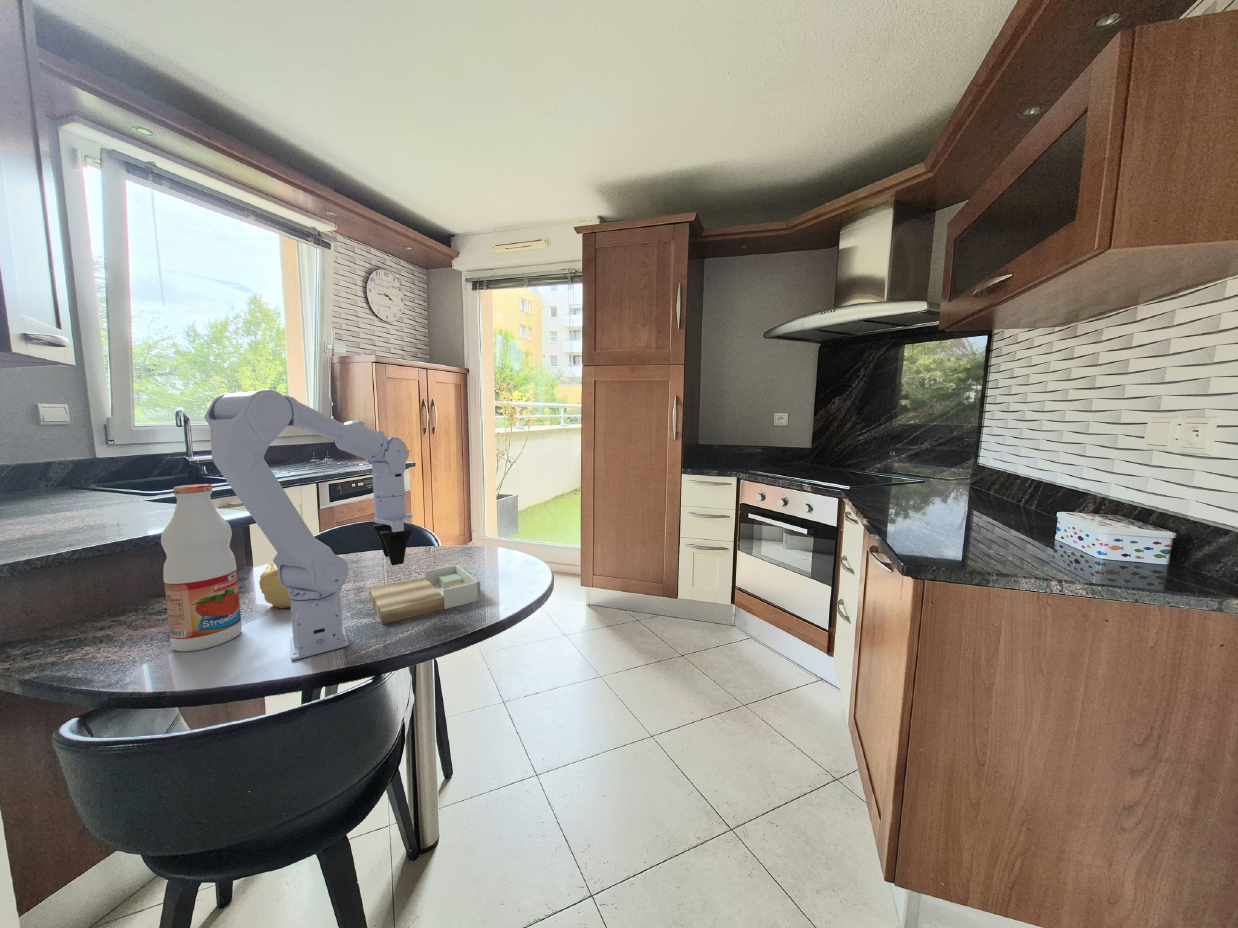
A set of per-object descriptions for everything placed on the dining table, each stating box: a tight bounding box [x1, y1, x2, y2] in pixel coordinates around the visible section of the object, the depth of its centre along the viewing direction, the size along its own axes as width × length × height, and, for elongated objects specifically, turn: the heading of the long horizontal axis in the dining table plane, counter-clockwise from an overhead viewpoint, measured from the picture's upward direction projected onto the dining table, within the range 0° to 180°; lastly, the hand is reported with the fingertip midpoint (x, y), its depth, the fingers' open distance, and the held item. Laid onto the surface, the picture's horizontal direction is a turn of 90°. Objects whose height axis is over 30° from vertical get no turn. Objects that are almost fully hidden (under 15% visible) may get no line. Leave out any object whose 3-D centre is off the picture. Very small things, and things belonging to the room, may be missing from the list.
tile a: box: [448, 582, 468, 588], centre depth 98 cm, size 5×4×2 cm
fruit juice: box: [160, 483, 243, 653], centre depth 79 cm, size 9×9×28 cm
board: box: [368, 576, 445, 625], centre depth 95 cm, size 16×12×2 cm
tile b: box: [438, 573, 462, 589], centre depth 104 cm, size 5×4×2 cm
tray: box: [424, 564, 482, 610], centre depth 100 cm, size 16×8×4 cm, turn 36°
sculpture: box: [258, 561, 291, 609], centre depth 97 cm, size 12×12×11 cm
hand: (393, 559), depth 93 cm, fingers open, 7 cm apart
